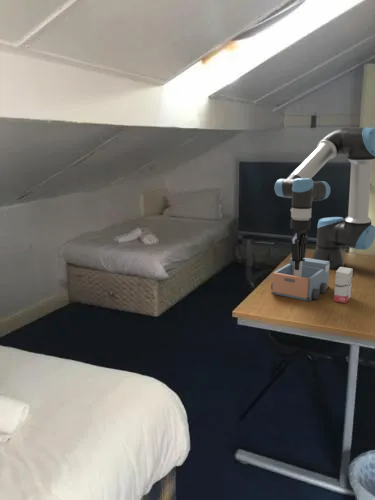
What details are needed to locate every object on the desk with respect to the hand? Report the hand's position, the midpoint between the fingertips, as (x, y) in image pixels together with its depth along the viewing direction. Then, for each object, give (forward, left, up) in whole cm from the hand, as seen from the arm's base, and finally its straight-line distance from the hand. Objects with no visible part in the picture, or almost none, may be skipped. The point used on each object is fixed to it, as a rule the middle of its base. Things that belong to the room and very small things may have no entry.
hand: (297, 276), depth 188 cm
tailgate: (+7, +2, -5) cm, 9 cm away
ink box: (-9, +15, -7) cm, 19 cm away
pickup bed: (-4, -2, -7) cm, 8 cm away
